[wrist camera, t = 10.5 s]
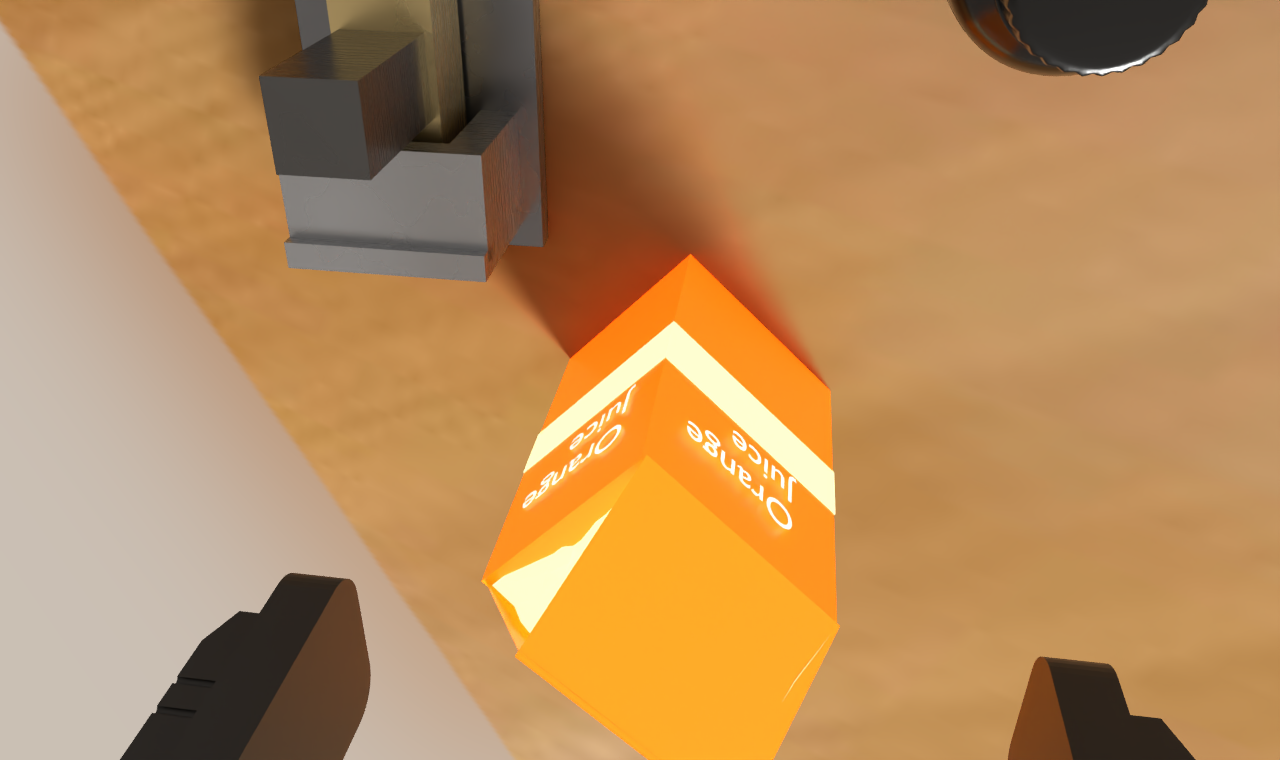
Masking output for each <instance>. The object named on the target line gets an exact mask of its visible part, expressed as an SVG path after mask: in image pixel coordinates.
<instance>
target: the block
mask: <svg viewBox="0 0 1280 760" xmlns="http://www.w3.org/2000/svg"><path fill="white" fill-rule="evenodd" d="M326 3H327V10H328V17H329V24H330V31H331V34H330V35H328V36H326V37H324V38H323V39H321V40H319V41H318V42H316V43H314V44H312V45H311V46H309V47H307V48H306V49H304V50H302V51H301V52H299V53H297V54H295V55H294V56H292V57H290V58H289V59H287V60H285V61H283V62H282V63H280V64H278V65H277V66H275V67H273V68H272V69H270V70H268V71H266V72H265V73H263V74H261V75H260V76H259V80H260V85H261V91H262V96H263V102H264V107H265V113H266V119H267V124H268V130H269V135H270V141H271V146H272V152H273V158H274V163H275V169H276V174H277V175H291V176H307V177H323V178H339V179H356V180H372V179H373V178H374V177H375V176H376V175H377V174H378V173H379V172H380V171H381V170H382V169H383V168H384V167H385V166H386V165H387V164H388V163H389V162H390V161H391V160H392V159H393V158H394V157H395V156H396V155H397V154H398V153H399V152H400V151H401V150H402V149H404V148H405V147H406V146H407V145H408V144H409V143H410V142H427V143H445V144H450V143H451V142H452V141H453V140H454V139H455V138H456V136H457V135H458V134H459V133H460V132H461V131H462V130H463V129H464V128H465V127H466V126H467V120H466V107H465V94H464V81H463V69H462V56H461V43H460V30H459V17H458V5H457V0H326Z"/></svg>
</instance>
